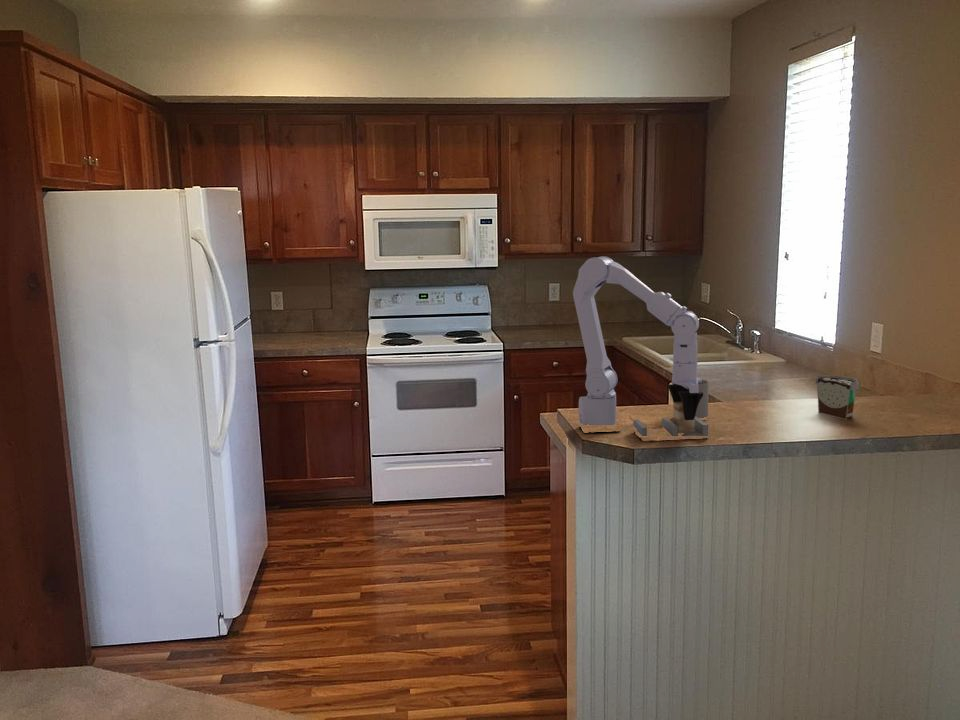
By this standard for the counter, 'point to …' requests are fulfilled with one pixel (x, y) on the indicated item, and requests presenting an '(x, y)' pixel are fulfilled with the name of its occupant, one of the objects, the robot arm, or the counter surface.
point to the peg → (682, 419)
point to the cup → (703, 400)
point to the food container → (836, 395)
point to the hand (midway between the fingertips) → (684, 416)
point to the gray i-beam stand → (674, 427)
